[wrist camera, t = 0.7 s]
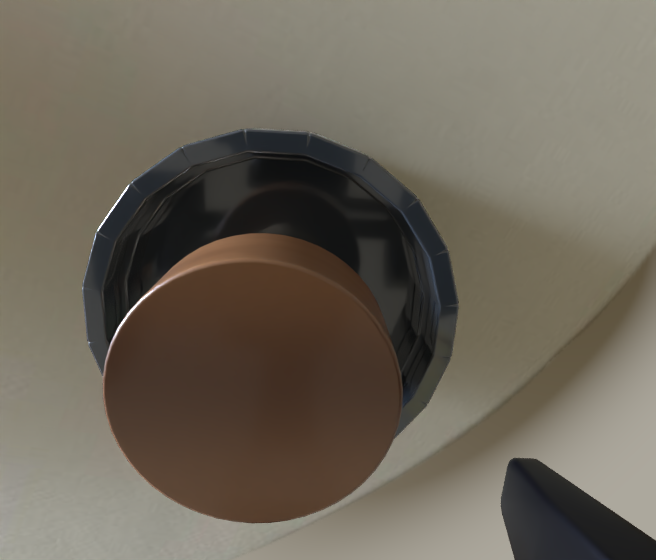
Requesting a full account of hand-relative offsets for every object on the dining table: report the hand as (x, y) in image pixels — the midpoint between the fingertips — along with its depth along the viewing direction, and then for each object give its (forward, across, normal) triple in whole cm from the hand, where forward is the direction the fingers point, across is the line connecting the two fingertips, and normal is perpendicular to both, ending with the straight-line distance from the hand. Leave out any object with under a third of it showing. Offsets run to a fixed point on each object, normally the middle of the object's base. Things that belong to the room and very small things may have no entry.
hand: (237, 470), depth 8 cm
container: (+13, 0, -1) cm, 13 cm away
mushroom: (+6, 0, -1) cm, 6 cm away
